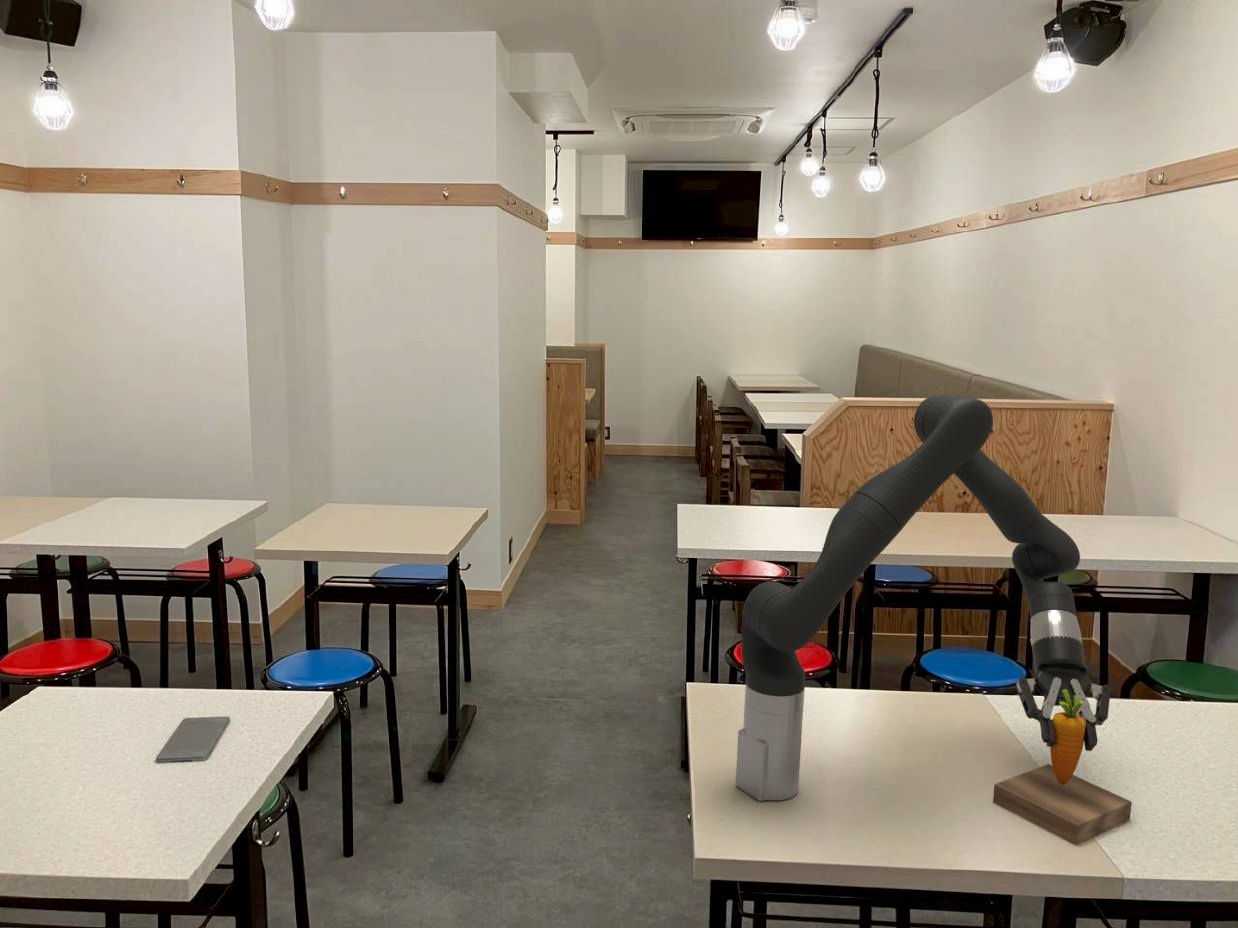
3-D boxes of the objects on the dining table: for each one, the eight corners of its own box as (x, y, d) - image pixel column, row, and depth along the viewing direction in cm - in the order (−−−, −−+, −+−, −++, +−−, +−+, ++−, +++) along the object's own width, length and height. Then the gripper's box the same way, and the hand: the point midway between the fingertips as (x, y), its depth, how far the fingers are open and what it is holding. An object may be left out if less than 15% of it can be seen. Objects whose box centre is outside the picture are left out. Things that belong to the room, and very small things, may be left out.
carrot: (1083, 794, 144) (1094, 701, 141) (1048, 790, 145) (1058, 697, 142) (1074, 778, 148) (1085, 688, 146) (1041, 774, 149) (1050, 685, 147)
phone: (154, 766, 154) (154, 759, 154) (183, 724, 170) (183, 717, 170) (207, 763, 156) (207, 756, 155) (231, 722, 171) (231, 715, 171)
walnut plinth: (1075, 844, 137) (1077, 825, 137) (992, 801, 149) (994, 784, 149) (1129, 819, 145) (1131, 801, 144) (1046, 780, 157) (1048, 763, 156)
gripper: (1015, 630, 151) (1026, 733, 142) (1111, 638, 149) (1129, 743, 139) (1005, 650, 157) (1015, 750, 148) (1097, 658, 155) (1113, 760, 145)
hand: (1070, 746), depth 144 cm, fingers closed on carrot, 5 cm apart
